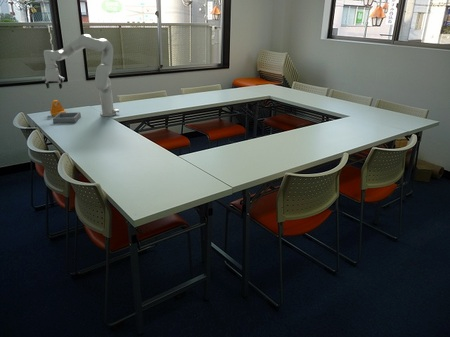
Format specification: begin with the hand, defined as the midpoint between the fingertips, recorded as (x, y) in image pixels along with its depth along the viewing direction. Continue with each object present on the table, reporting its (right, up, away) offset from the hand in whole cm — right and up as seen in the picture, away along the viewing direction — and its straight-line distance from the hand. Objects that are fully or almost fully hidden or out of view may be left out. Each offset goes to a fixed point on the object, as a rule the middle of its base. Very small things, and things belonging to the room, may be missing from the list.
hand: (54, 88), depth 292 cm
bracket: (-1, -20, +9) cm, 22 cm away
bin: (+13, -27, -5) cm, 30 cm away
